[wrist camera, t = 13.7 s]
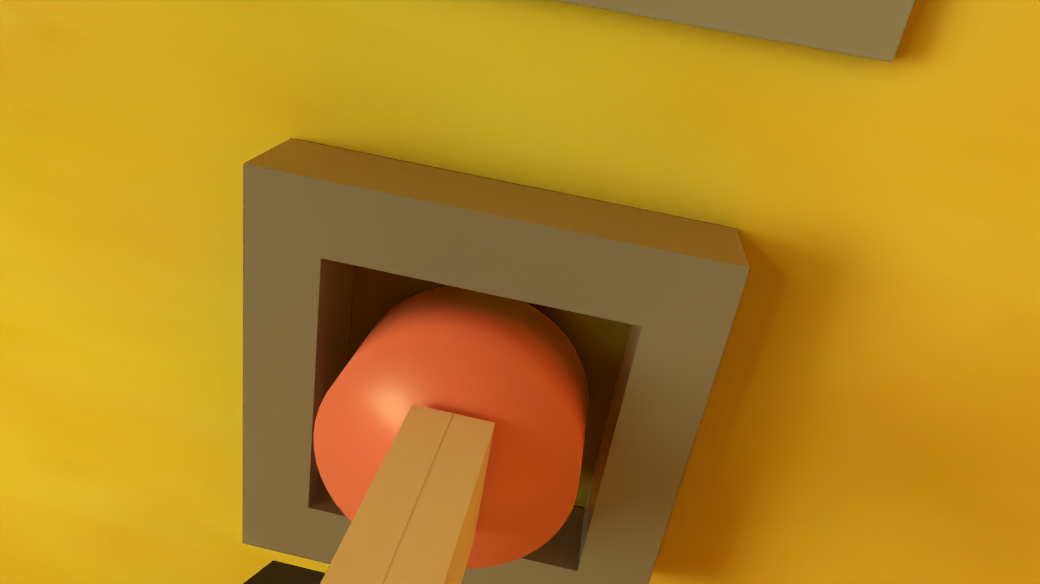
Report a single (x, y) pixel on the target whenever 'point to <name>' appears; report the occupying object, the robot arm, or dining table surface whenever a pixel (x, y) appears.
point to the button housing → (488, 269)
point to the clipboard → (787, 20)
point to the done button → (466, 409)
